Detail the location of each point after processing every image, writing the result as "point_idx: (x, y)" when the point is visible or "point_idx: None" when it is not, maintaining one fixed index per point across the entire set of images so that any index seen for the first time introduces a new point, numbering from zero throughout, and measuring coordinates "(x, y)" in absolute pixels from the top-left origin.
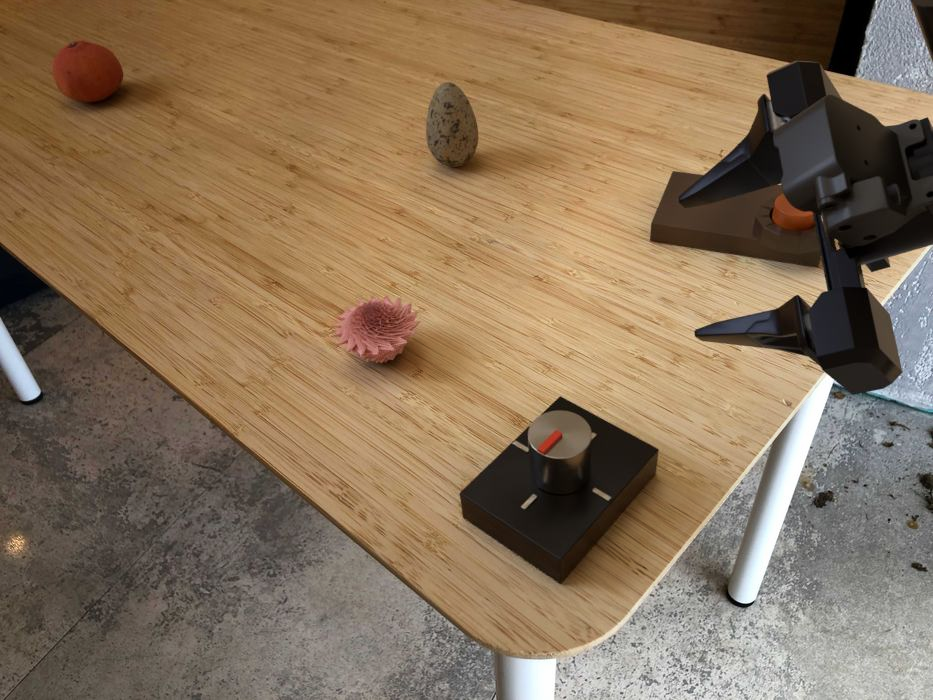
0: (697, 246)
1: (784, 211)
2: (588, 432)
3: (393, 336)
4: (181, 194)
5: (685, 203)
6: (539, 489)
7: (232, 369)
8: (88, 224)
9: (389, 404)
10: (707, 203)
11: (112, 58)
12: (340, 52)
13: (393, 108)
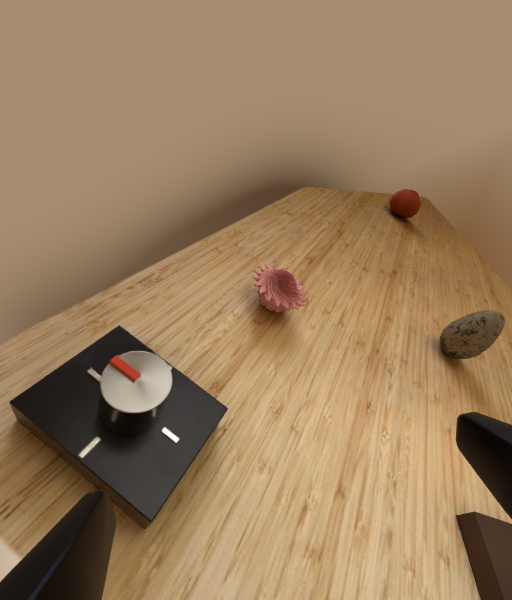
0: (477, 579)
1: None
2: (135, 409)
3: (270, 292)
4: (355, 233)
5: (465, 434)
6: None
7: (246, 241)
8: (324, 206)
9: (227, 306)
10: (502, 502)
11: (416, 206)
12: (488, 296)
13: None
